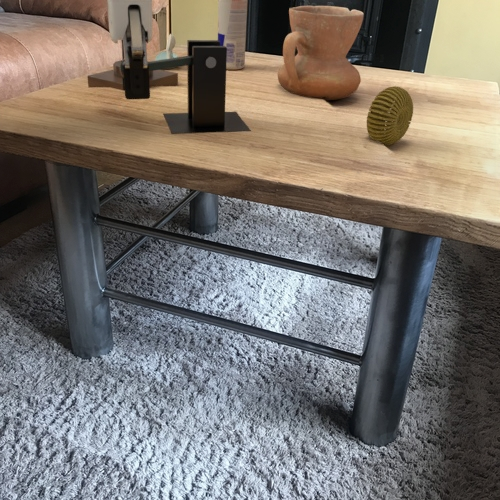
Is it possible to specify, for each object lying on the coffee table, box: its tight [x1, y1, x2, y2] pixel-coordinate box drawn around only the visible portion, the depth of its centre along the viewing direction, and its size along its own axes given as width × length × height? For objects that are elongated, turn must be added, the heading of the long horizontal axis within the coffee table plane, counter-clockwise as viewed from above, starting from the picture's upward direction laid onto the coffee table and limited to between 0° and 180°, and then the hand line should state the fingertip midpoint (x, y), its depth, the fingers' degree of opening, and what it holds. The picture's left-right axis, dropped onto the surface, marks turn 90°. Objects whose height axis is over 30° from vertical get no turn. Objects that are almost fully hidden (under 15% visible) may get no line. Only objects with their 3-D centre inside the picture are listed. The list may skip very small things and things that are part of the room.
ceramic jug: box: [277, 5, 365, 101], centre depth 96 cm, size 18×14×14 cm
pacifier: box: [153, 33, 179, 61], centre depth 111 cm, size 7×6×6 cm
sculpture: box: [366, 86, 414, 147], centre depth 77 cm, size 8×4×8 cm, turn 136°
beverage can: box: [217, 0, 248, 71], centre depth 112 cm, size 6×6×15 cm
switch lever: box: [120, 45, 214, 78], centre depth 74 cm, size 13×3×3 cm, turn 105°
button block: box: [87, 60, 179, 91], centre depth 97 cm, size 12×10×4 cm
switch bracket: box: [162, 39, 252, 135], centre depth 77 cm, size 11×9×12 cm
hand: (136, 93), depth 75 cm, fingers closed on switch lever, 3 cm apart
